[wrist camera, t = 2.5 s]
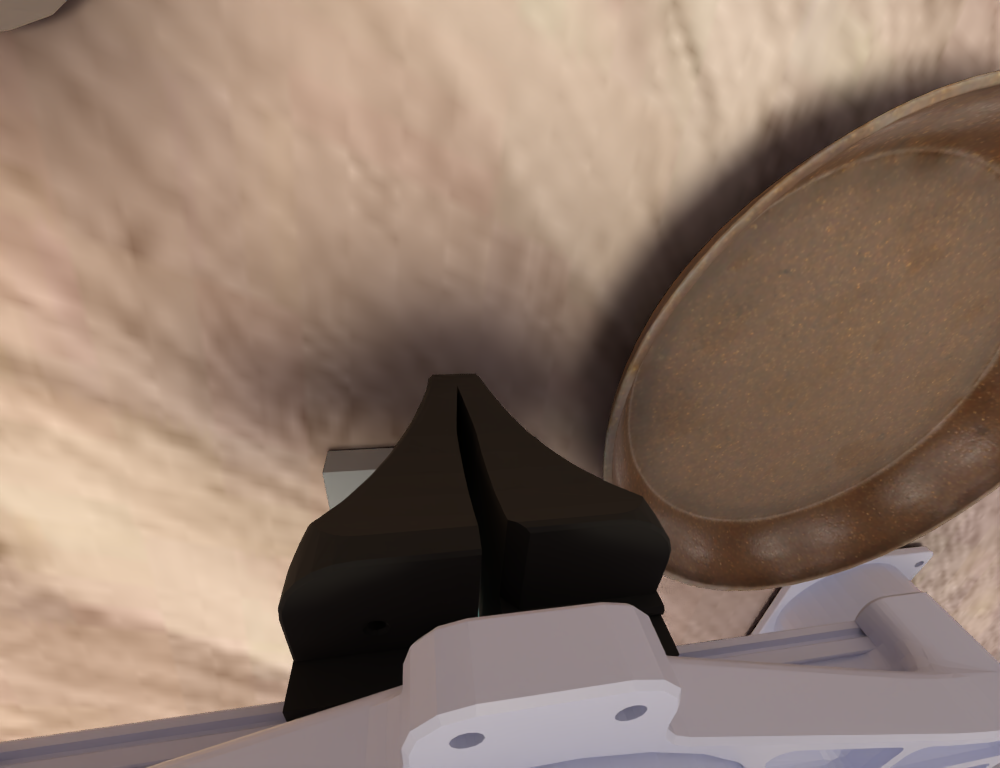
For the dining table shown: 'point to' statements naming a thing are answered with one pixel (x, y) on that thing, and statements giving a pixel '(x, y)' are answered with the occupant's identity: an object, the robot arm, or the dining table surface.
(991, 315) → the plant saucer
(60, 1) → the coffee cup
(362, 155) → the dining table surface
